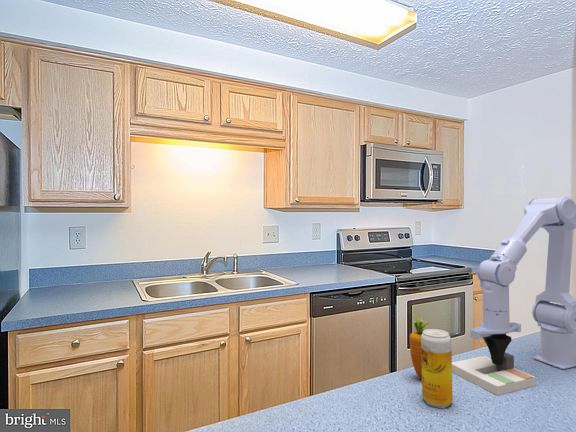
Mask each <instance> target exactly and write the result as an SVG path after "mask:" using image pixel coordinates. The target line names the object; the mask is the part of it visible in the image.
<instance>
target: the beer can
mask: <svg viewBox="0 0 576 432" xmlns="http://www.w3.org/2000/svg"><path fill="white" fill-rule="evenodd" d="M452 350H453V349H452V338H451V336H450V333H449V331H446V330H443V329H439V328H438V329H437V328H427V329H426V328H425V330H424V331H423V333H422V335H421V360H422V379H421V393H422V394H421V396H422V398H423V400H424V401H425V403H426V404H428V405H429V406H431V407H434V408H437V409H438V408H439V409H445V408H448V407H449V406H450V405H451V404H452V403H453V399H454V398H453V394H454V393H453V372H452V359H453V358H452Z"/></svg>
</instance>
